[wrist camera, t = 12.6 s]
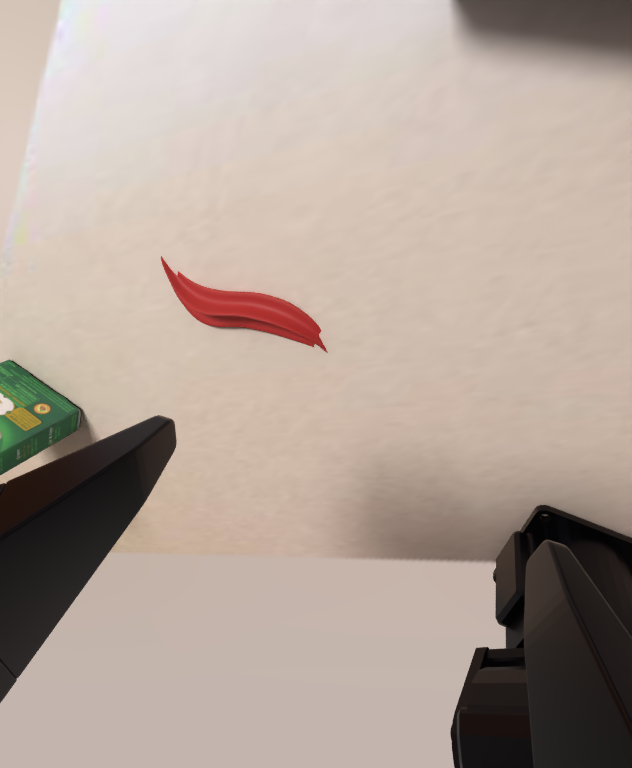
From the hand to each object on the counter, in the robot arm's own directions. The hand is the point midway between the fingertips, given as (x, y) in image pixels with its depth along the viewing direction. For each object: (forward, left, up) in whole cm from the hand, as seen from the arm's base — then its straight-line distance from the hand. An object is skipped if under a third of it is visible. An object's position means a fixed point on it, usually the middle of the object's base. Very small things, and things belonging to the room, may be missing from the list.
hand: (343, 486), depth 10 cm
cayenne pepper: (+10, +2, -13) cm, 17 cm away
